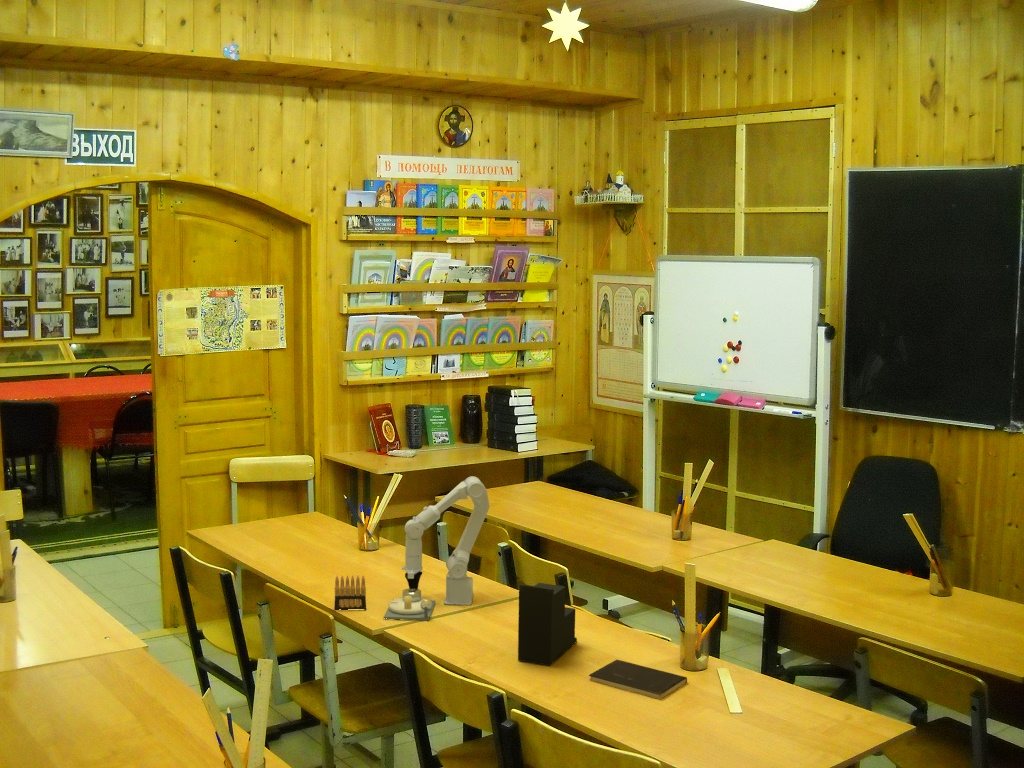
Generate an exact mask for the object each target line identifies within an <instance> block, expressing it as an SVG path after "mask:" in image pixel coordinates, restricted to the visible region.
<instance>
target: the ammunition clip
mask: <svg viewBox="0 0 1024 768" xmlns="http://www.w3.org/2000/svg"><path fill="white" fill-rule="evenodd" d="M338 576H339V575H336V577H335V580H334V582H335V585H334V605H333V606H334V607H333V608H334V609H333V610H339V609H341V610H348V609H366V610H367V598H366V597H367V595H366V594H367V592H366V591H367V590H366V579H365V576H364V574H363V575H362V577H361V580H360V576H359V575H356V579H355V577H354V575H352V576H351V579H350V578H349V576H348V575H346V578H345V579H344V576H343V575H341V577H340V580H339V577H338ZM355 580H356V581H355ZM360 581H361V582H360ZM355 583H356V584H355Z"/></svg>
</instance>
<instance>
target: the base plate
mask: <svg viewBox="0 0 1024 768" xmlns="http://www.w3.org/2000/svg"><path fill="white" fill-rule="evenodd" d="M394 599H395V598H393V599H392V600H394ZM429 600H430V599H429ZM430 601H431V603H432V607H431V609H430V610H429V611H428V617H424V613H419V614H399V613H395V612H392V611H390V610H389V606H388V608H387V609H386V611H385V613H384V615H383V619H384V618H385V619H386V618H387V619H408V620H407V621H412V620H417V621H418V622H419V621H420V622H429V621H430V618H431V615H432V613H433V611H434V609H433V608H435V606H436V604H437V603H436V600H434V599H433V600H432V599H431V600H430Z"/></svg>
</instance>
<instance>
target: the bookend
mask: <svg viewBox="0 0 1024 768" xmlns="http://www.w3.org/2000/svg"><path fill="white" fill-rule="evenodd" d="M518 589H519V590H518V625H517V626H518V629H517V631H518V633H517V634H518V635H517V639H518V641H517V661H519V662H521V661H522V662H525V663H526V662H527V663H532V664H540V665H545V666H552V665H553V664H554V663H555V662H556V661H557V660H559V658H561V657H562V656H563V655H564V654H565V653H566V652H567V651H569V650H570V649H571V648H572V647H573V646H574V645H575V644H576V643H578V638H577V637H576V608H572V607H567V606H566V586H564V585H559V584H549V583H544V582H538V583H536V584H535V585H530V584H521V583H519V585H518ZM575 642H576V643H575ZM574 643H575V644H574ZM573 644H574V645H573ZM572 645H573V646H572ZM569 648H570V649H569Z"/></svg>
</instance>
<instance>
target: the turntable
mask: <svg viewBox="0 0 1024 768" xmlns="http://www.w3.org/2000/svg"><path fill="white" fill-rule="evenodd" d="M393 599H394V600H393ZM393 599H392V600H390V601H389V602H388V607H389V610H390V611H392V612H395V613H399V614H419V613H424V610H422V608H421V602H422V601H423V600H429V601H430V599H428V598H425V597H421V601H419V602H413V603H412V597H411V596H404V601H403V596H402V597H397V598H393ZM430 602H431V601H430ZM431 604H432V603H431ZM431 607H432V606H431ZM428 611H429V610H428Z"/></svg>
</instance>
